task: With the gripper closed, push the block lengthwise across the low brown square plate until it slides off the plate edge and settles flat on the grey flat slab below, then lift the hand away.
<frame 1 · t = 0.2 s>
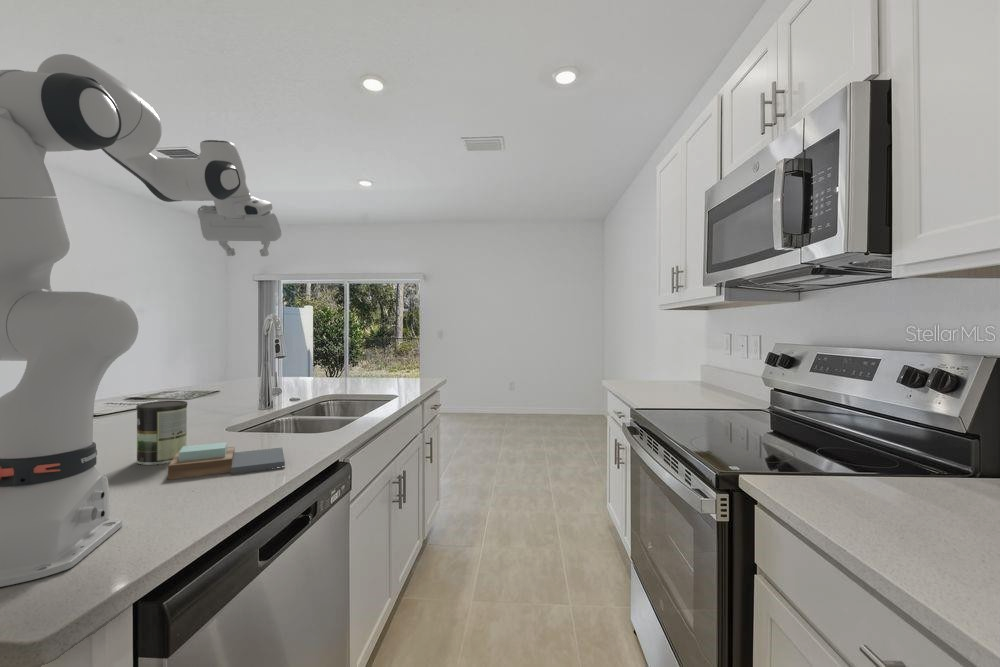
hand: (248, 255, 126), 54 cm above the worktop, tool tilted 30°, fingers open, 8 cm apart
brown square plate: (203, 468, 106), on the worktop
grey flat slab: (258, 462, 111), on the worktop
coffee can: (162, 460, 113), on the worktop
block: (203, 455, 106), point 3 cm above the worktop, touching brown square plate
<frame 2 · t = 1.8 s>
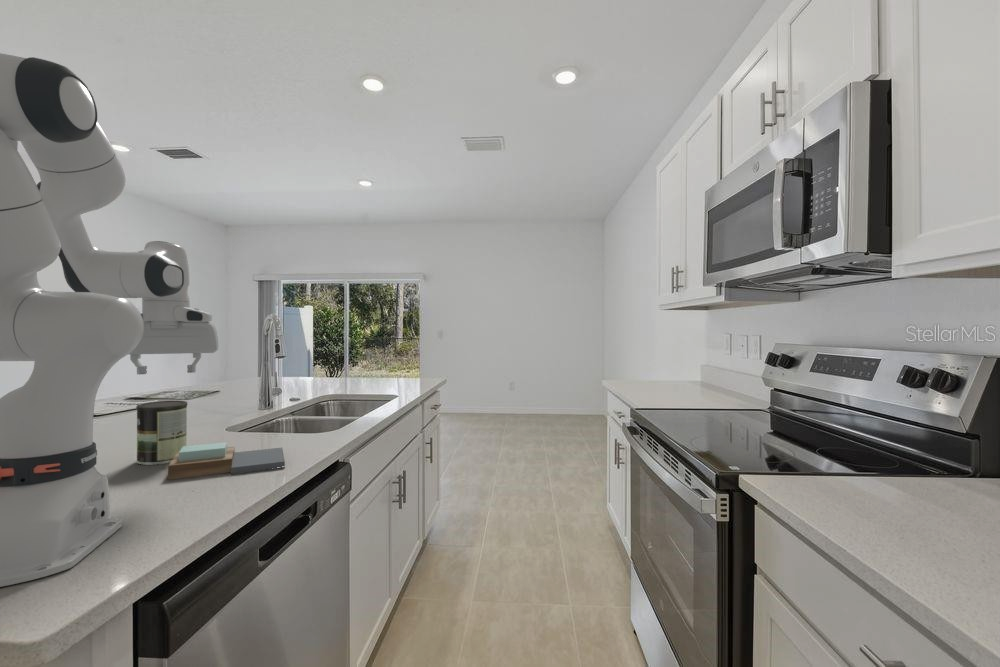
hand: (167, 373, 104), 23 cm above the worktop, tool pointing down, fingers open, 8 cm apart
nothing on the worktop moved.
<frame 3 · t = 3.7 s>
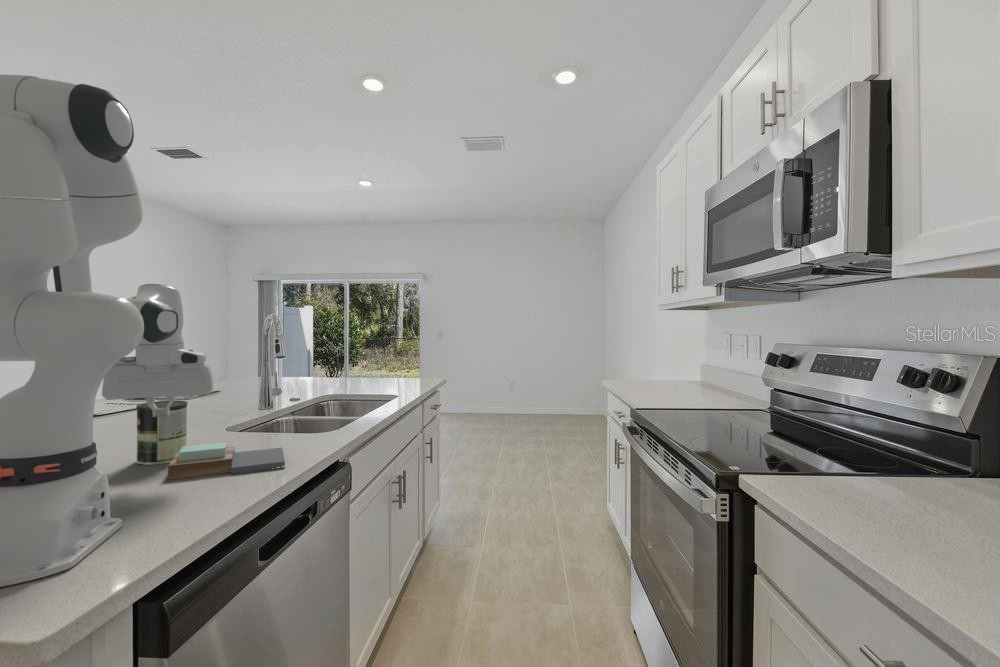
hand: (161, 416, 103), 13 cm above the worktop, tool pointing down, fingers closed
nothing on the worktop moved.
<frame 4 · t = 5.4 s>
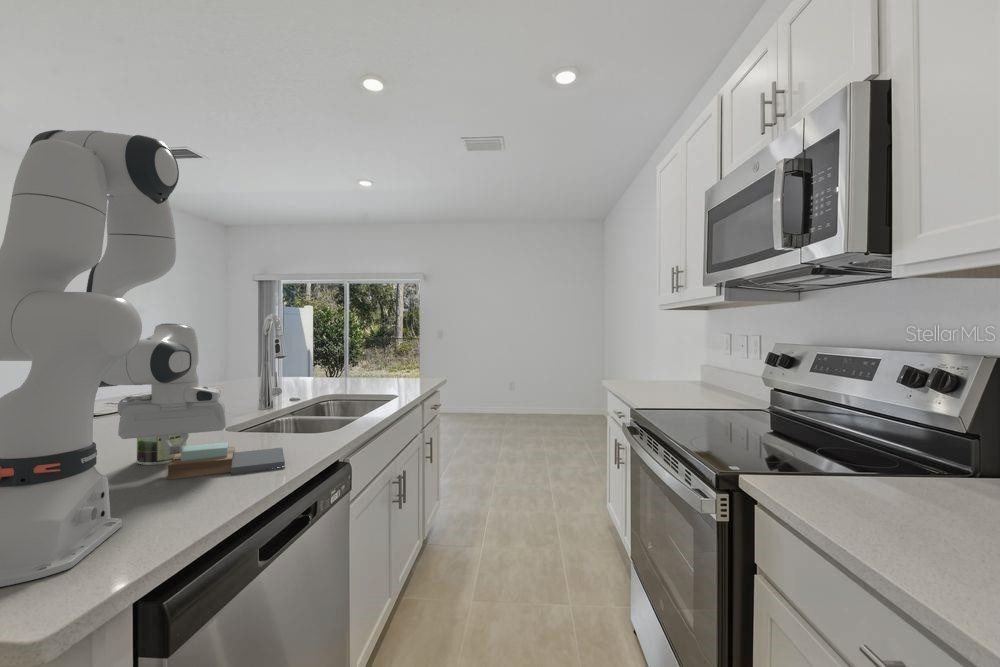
hand: (175, 453, 104), 4 cm above the worktop, tool pointing down, fingers closed
block: (206, 455, 106), point 3 cm above the worktop, touching gripper
everything else where it was.
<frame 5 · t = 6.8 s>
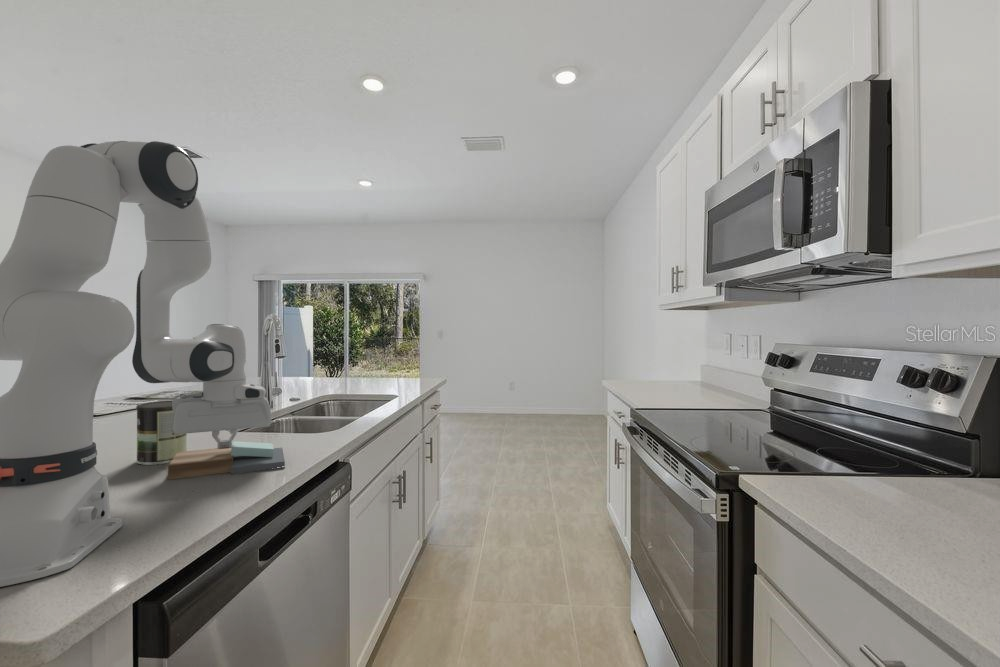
hand: (224, 448, 108), 4 cm above the worktop, tool pointing down, fingers closed
block: (251, 453, 111), point 2 cm above the worktop, tilted 10°, touching gripper
everything else where it was.
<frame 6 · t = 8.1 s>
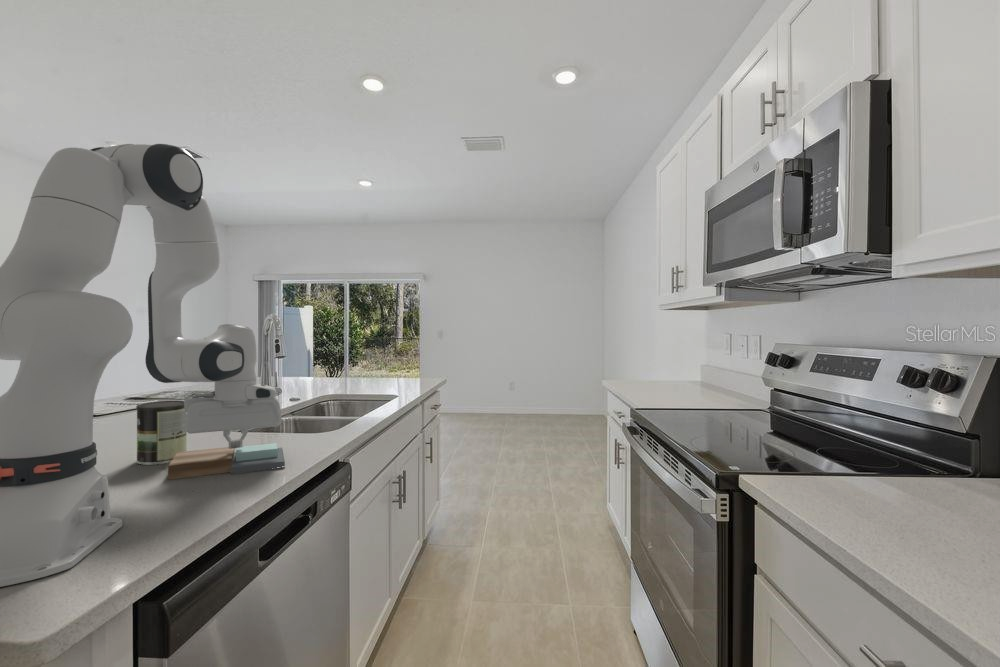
hand: (235, 447, 109), 4 cm above the worktop, tool pointing down, fingers closed
block: (257, 455, 112), point 1 cm above the worktop, touching grey flat slab
everything else where it was.
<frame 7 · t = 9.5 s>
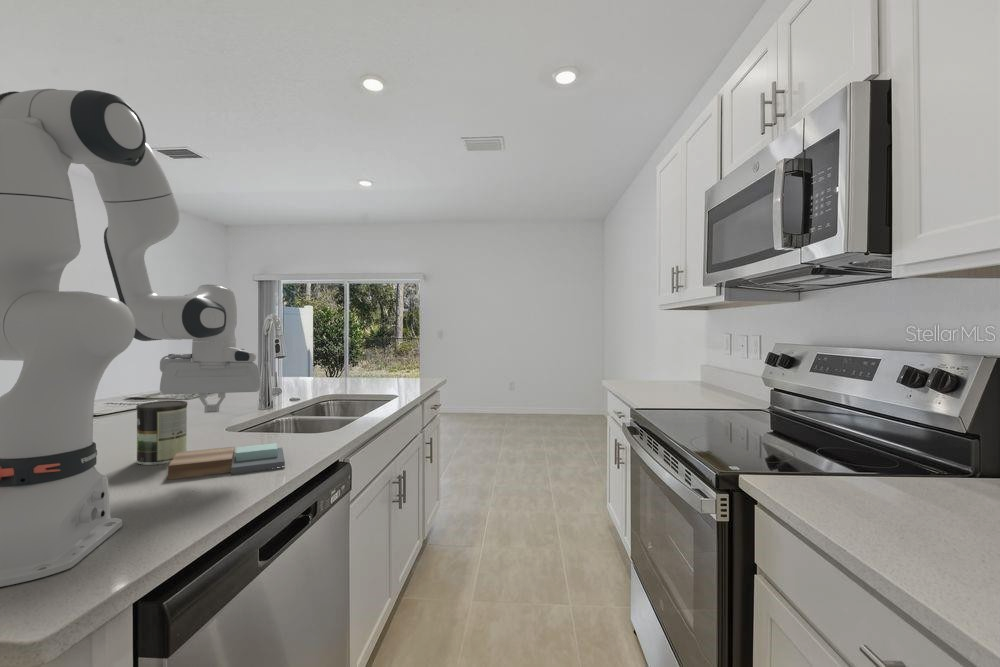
hand: (212, 412, 106), 13 cm above the worktop, tool pointing down, fingers closed
nothing on the worktop moved.
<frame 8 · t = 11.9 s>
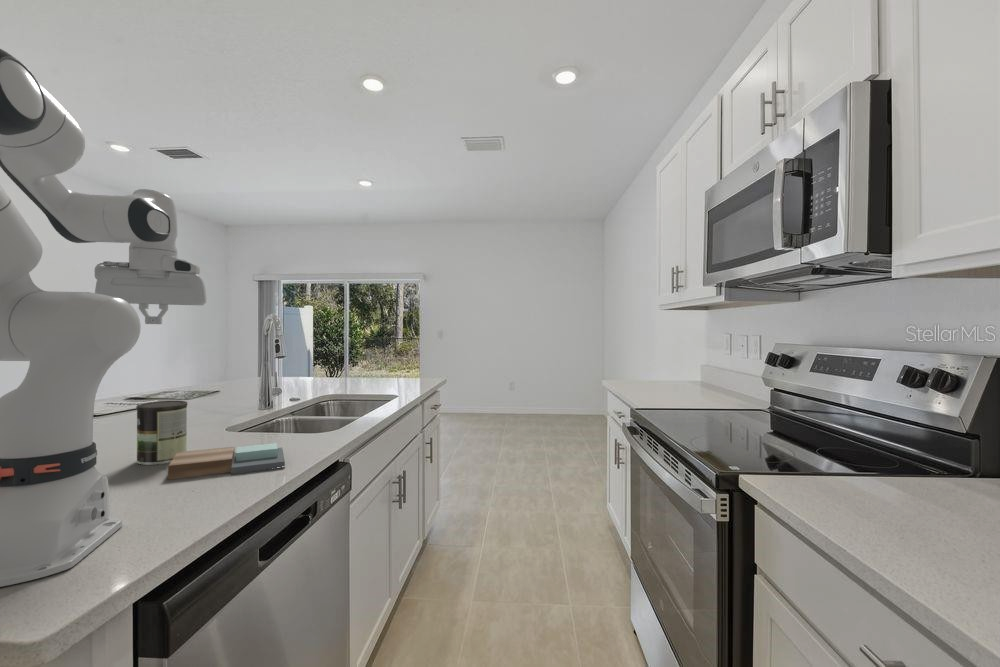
hand: (153, 324, 103), 34 cm above the worktop, tool pointing down, fingers closed
nothing on the worktop moved.
at the end: block point 1.5 cm above the worktop; block inside the target area on the grey flat slab (1.3 cm from its centre), point 1.5 cm above the grey flat slab's base; block touching grey flat slab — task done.
